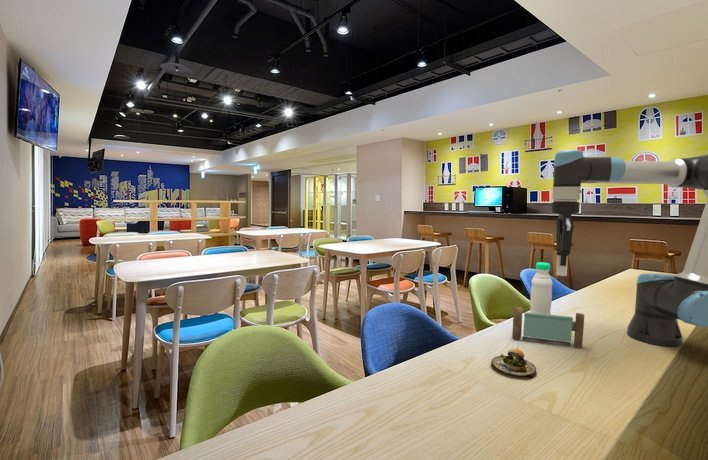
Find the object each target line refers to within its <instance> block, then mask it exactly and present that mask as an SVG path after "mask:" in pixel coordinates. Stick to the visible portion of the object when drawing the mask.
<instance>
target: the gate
mask: <svg viewBox="0 0 708 460" xmlns="http://www.w3.org/2000/svg"><path fill="white" fill-rule="evenodd" d="M523 315H524V318H523V320H524V321H523V334H522V336H526V337H534V338H542V339H550V340H558V341H566V342H570V343H571V342H572V334H573V333H572V332H573V331H572V321H574V320H573V319H574V318H573V317H572V316H568V315H558V314H551V315H548V314H538V313H530V312H528V311H527V312H526V311H525V312H524V314H523Z"/></svg>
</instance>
